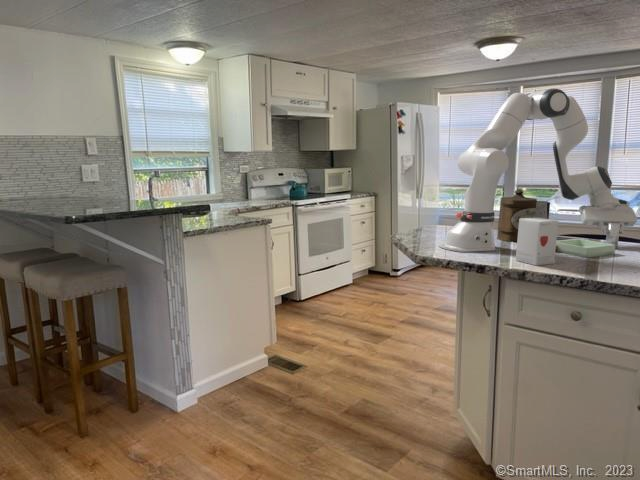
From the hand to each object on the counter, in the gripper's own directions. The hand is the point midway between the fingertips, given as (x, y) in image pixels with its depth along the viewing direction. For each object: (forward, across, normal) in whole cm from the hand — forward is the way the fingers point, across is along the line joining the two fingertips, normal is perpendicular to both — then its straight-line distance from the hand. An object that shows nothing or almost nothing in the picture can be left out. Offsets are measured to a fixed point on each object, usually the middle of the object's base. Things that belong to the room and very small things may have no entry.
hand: (613, 233), depth 186 cm
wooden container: (-7, -32, +16) cm, 37 cm away
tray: (+11, -16, -3) cm, 20 cm away
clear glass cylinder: (+4, 0, +5) cm, 6 cm away
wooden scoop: (+12, -29, -4) cm, 32 cm away
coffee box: (-14, -20, +23) cm, 33 cm away
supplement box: (+25, -40, -16) cm, 50 cm away
